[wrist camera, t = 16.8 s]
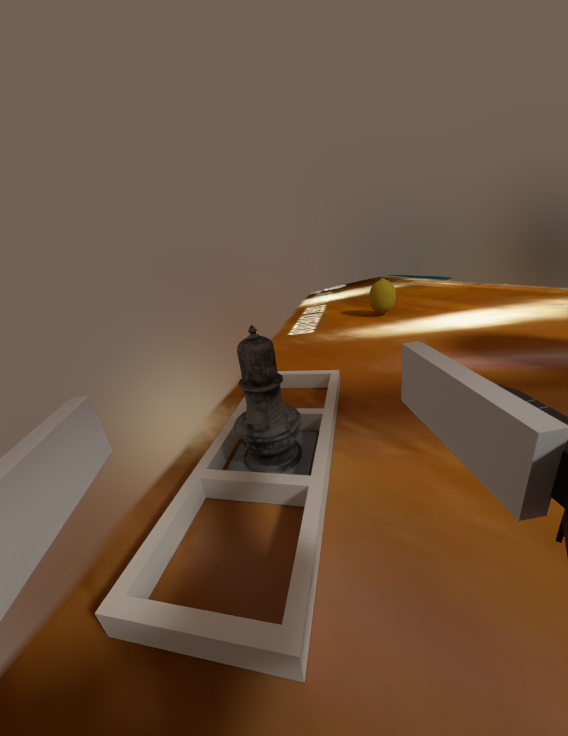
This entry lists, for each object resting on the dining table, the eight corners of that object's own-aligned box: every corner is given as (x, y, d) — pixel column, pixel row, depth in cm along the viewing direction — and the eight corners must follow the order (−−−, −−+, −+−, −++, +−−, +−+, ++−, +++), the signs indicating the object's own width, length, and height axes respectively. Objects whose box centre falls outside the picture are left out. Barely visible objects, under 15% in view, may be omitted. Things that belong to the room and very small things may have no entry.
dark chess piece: (296, 481, 24) (276, 336, 19) (229, 473, 26) (197, 338, 21) (311, 437, 29) (298, 313, 25) (254, 432, 31) (233, 317, 26)
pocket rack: (263, 385, 42) (261, 371, 41) (340, 384, 39) (339, 370, 39) (108, 636, 16) (94, 613, 15) (304, 682, 13) (300, 657, 13)
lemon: (392, 318, 65) (393, 279, 61) (366, 318, 67) (365, 281, 64) (397, 312, 69) (398, 275, 66) (373, 312, 72) (372, 277, 69)
